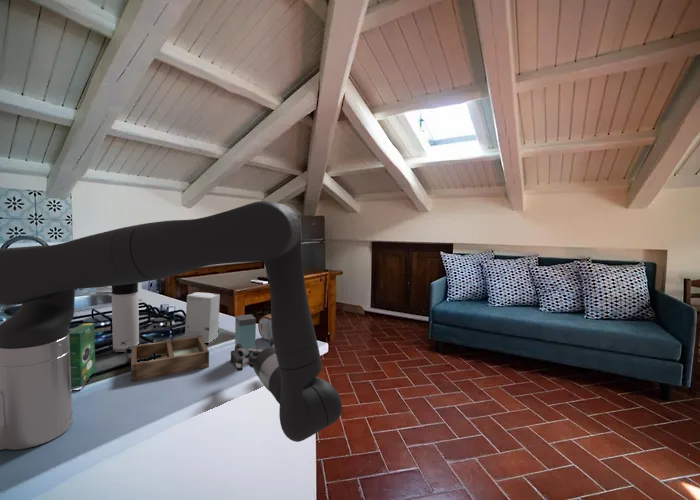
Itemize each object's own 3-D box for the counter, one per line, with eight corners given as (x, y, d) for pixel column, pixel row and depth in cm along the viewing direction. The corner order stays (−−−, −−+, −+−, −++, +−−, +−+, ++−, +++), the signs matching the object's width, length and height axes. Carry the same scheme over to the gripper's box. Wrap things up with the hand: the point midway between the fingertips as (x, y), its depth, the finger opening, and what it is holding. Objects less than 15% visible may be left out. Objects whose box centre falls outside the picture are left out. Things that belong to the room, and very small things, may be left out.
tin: (297, 346, 102) (297, 320, 101) (290, 349, 99) (290, 323, 98) (263, 335, 110) (263, 311, 109) (256, 338, 107) (256, 313, 106)
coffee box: (82, 375, 78) (80, 322, 77) (96, 373, 79) (95, 321, 78) (65, 392, 71) (63, 334, 70) (81, 390, 72) (79, 333, 71)
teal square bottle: (238, 363, 88) (239, 320, 87) (234, 357, 92) (235, 316, 91) (255, 360, 91) (255, 318, 90) (250, 354, 94) (251, 314, 93)
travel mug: (126, 354, 91) (125, 283, 89) (107, 351, 92) (105, 281, 90) (145, 346, 97) (144, 279, 95) (126, 343, 98) (125, 278, 96)
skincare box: (184, 342, 101) (184, 295, 100) (195, 335, 107) (195, 291, 106) (210, 344, 100) (210, 297, 99) (219, 337, 106) (220, 292, 105)
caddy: (131, 381, 76) (131, 365, 76) (132, 360, 87) (132, 345, 87) (208, 366, 86) (209, 351, 85) (201, 349, 97) (201, 335, 96)
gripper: (308, 347, 73) (282, 326, 86) (243, 360, 65) (226, 334, 79) (307, 379, 74) (281, 353, 87) (243, 395, 66) (225, 364, 79)
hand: (255, 344), depth 83 cm, fingers open, 8 cm apart
